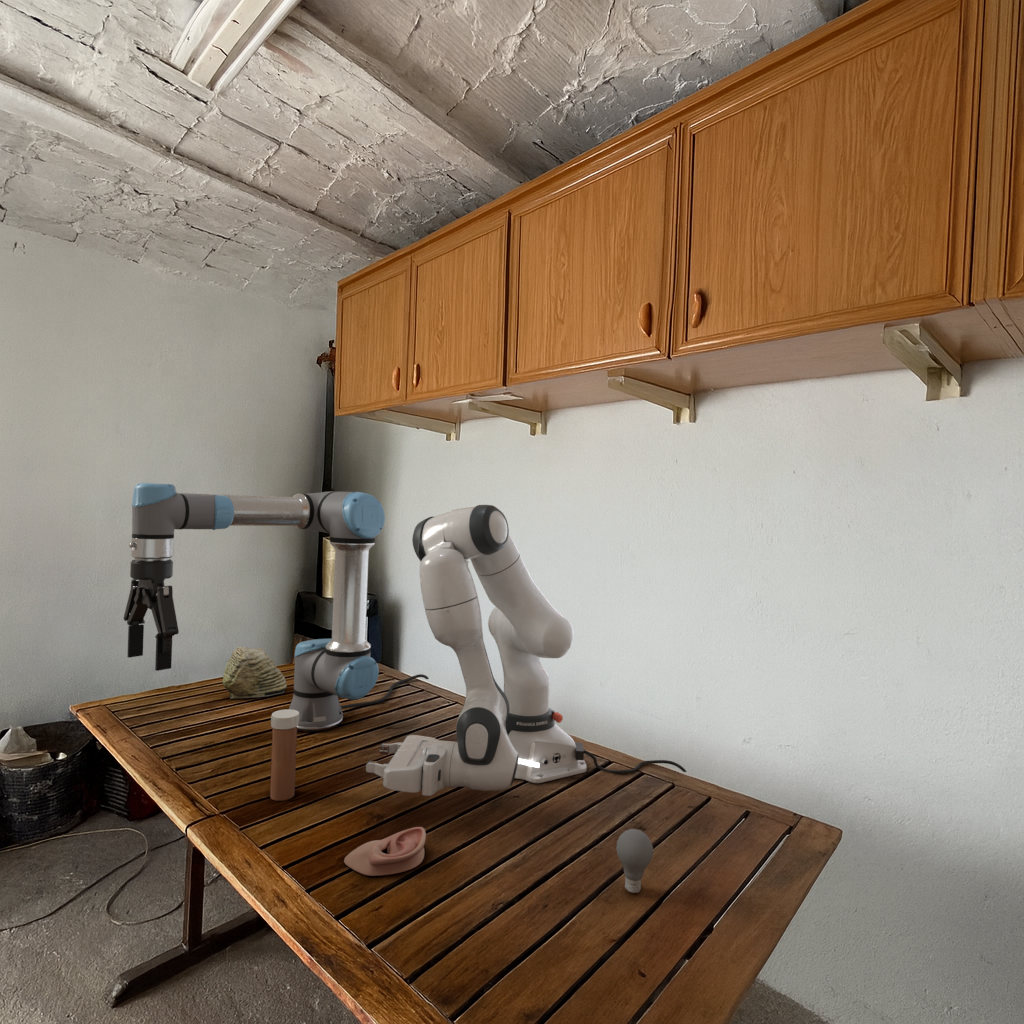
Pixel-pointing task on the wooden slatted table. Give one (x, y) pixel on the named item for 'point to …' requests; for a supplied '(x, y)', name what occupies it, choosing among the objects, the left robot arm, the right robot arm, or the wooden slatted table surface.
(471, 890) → the wooden slatted table surface
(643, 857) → the light bulb
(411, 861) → the anatomical model
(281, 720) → the lid
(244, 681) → the fossil
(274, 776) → the brown bottle
